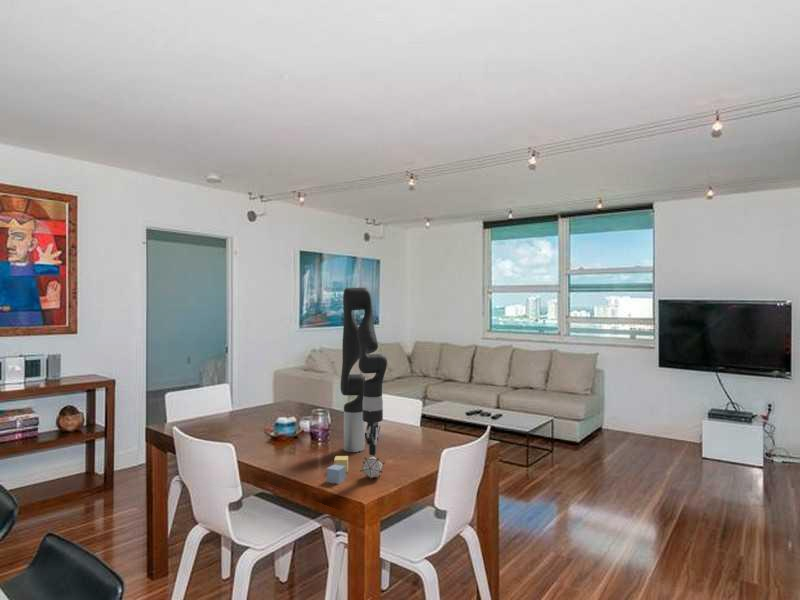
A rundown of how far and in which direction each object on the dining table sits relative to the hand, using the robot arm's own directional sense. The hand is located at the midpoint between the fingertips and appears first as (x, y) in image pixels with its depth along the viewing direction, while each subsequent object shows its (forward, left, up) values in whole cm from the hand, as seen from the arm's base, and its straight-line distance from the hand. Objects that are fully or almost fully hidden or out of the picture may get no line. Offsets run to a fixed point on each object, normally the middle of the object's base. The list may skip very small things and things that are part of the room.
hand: (372, 454), depth 183 cm
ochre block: (-5, -14, -9) cm, 17 cm away
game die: (0, 0, -9) cm, 9 cm away
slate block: (+6, -12, -9) cm, 16 cm away
